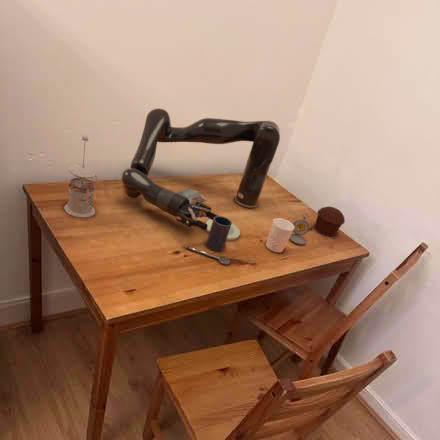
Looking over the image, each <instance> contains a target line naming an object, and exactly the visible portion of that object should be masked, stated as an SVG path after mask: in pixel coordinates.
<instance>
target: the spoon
mask: <svg viewBox="0 0 440 440" xmlns="http://www.w3.org/2000/svg"><path fill="white" fill-rule="evenodd" d="M185 249H186V250H189V251H192V252H194V253H196V254H197V253H198V254H200V255H203V256H205V257H208V258H212V259H214V260H217V261H218V262H219V264H221V265H223V266H229V265H230V263H231V260H230V259H229V258H228V257H226V256H218V255H214V254H212V253H210V252H206V251H203V250H201V249H198V248H195V247H192V246H189V245H186V246H185Z"/></svg>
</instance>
